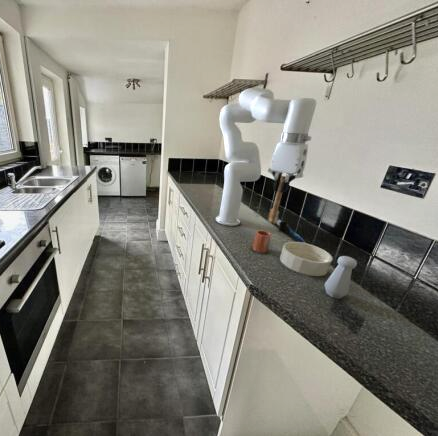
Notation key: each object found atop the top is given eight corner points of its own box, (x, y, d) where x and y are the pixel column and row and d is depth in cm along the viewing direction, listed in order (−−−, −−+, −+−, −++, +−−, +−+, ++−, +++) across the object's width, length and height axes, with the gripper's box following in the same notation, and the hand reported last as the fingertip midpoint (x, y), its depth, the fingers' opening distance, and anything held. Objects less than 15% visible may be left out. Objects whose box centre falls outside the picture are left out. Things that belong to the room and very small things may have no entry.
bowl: (271, 254, 93) (275, 241, 91) (307, 254, 94) (312, 241, 92) (295, 277, 79) (300, 262, 77) (337, 277, 80) (343, 263, 78)
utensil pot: (250, 247, 99) (253, 230, 96) (262, 247, 99) (266, 230, 96) (256, 253, 94) (260, 236, 91) (269, 253, 94) (273, 236, 91)
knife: (268, 218, 127) (270, 211, 125) (274, 219, 127) (276, 211, 125) (298, 252, 100) (302, 243, 98) (305, 252, 100) (309, 243, 98)
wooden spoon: (266, 221, 91) (278, 175, 84) (269, 220, 92) (280, 175, 85) (274, 223, 89) (286, 177, 82) (276, 222, 90) (289, 177, 83)
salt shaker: (335, 302, 69) (351, 265, 64) (317, 289, 74) (331, 254, 69) (349, 298, 70) (366, 262, 65) (331, 286, 75) (345, 252, 70)
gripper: (324, 140, 74) (307, 195, 81) (276, 137, 87) (265, 185, 94) (313, 141, 71) (296, 198, 78) (265, 137, 83) (254, 187, 90)
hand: (279, 191), depth 86 cm, fingers closed on wooden spoon, 1 cm apart
